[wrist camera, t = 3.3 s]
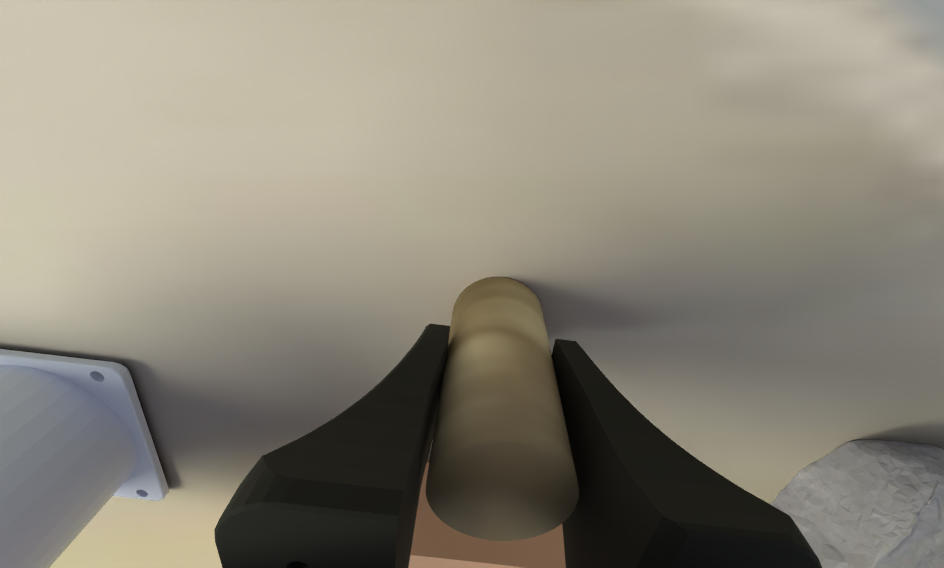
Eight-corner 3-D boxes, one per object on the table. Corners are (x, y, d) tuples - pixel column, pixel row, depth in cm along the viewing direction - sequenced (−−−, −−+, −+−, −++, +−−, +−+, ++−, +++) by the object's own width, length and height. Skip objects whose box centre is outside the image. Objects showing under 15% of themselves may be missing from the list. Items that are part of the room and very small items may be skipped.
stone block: (821, 386, 18) (703, 553, 21) (949, 465, 14) (776, 666, 16) (1010, 459, 20) (881, 602, 23) (1175, 548, 16) (991, 714, 18)
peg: (449, 347, 16) (421, 532, 9) (457, 271, 14) (431, 431, 8) (533, 358, 16) (560, 548, 10) (550, 283, 14) (596, 451, 8)
